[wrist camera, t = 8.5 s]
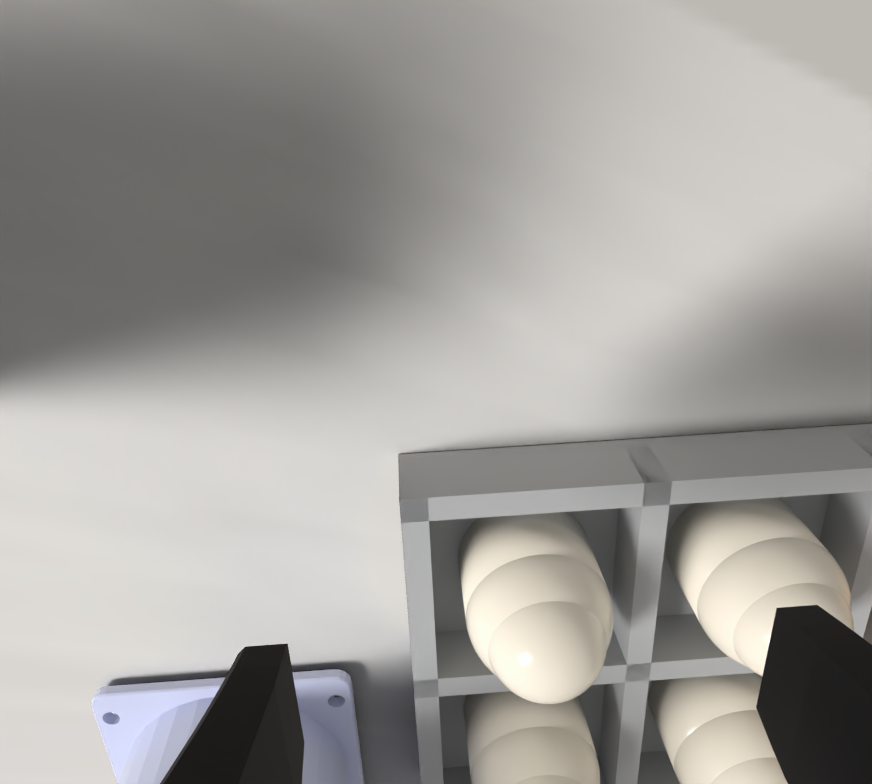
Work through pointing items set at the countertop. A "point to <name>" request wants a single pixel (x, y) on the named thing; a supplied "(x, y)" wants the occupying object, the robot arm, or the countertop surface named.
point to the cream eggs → (592, 630)
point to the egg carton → (614, 564)
